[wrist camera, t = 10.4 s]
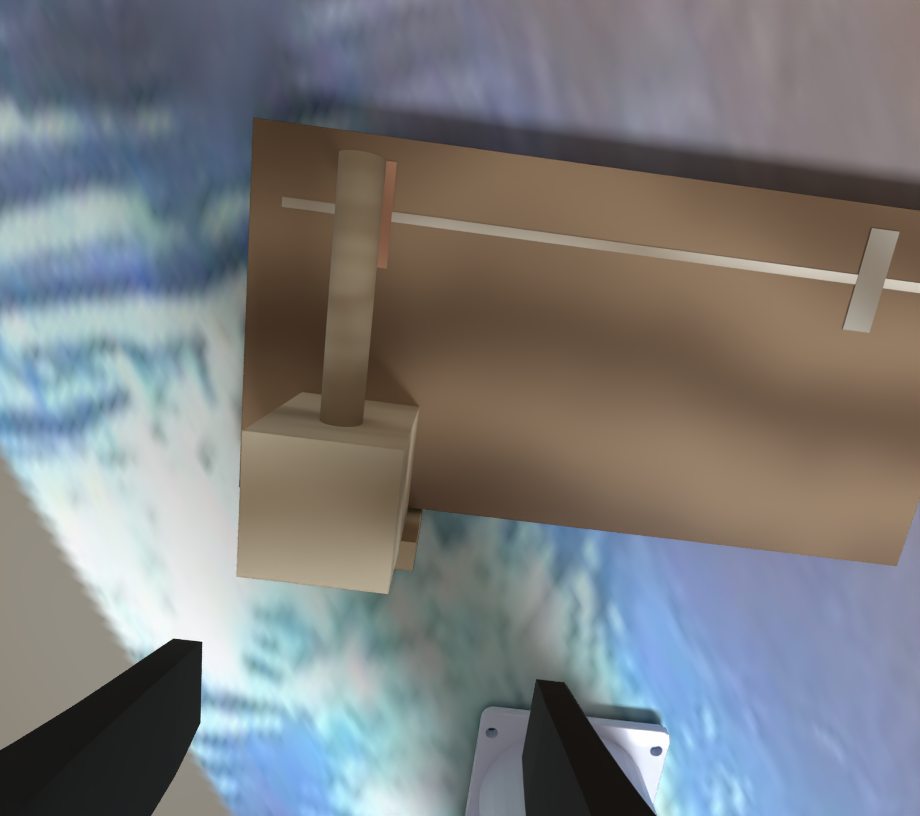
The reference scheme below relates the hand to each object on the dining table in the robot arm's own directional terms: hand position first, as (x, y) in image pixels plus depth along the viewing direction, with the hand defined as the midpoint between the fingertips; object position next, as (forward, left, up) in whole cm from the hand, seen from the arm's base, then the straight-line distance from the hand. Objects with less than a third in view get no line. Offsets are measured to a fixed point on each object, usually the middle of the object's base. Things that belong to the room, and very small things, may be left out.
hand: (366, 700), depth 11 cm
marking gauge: (+6, +2, -9) cm, 11 cm away
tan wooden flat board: (+7, -6, -9) cm, 13 cm away
